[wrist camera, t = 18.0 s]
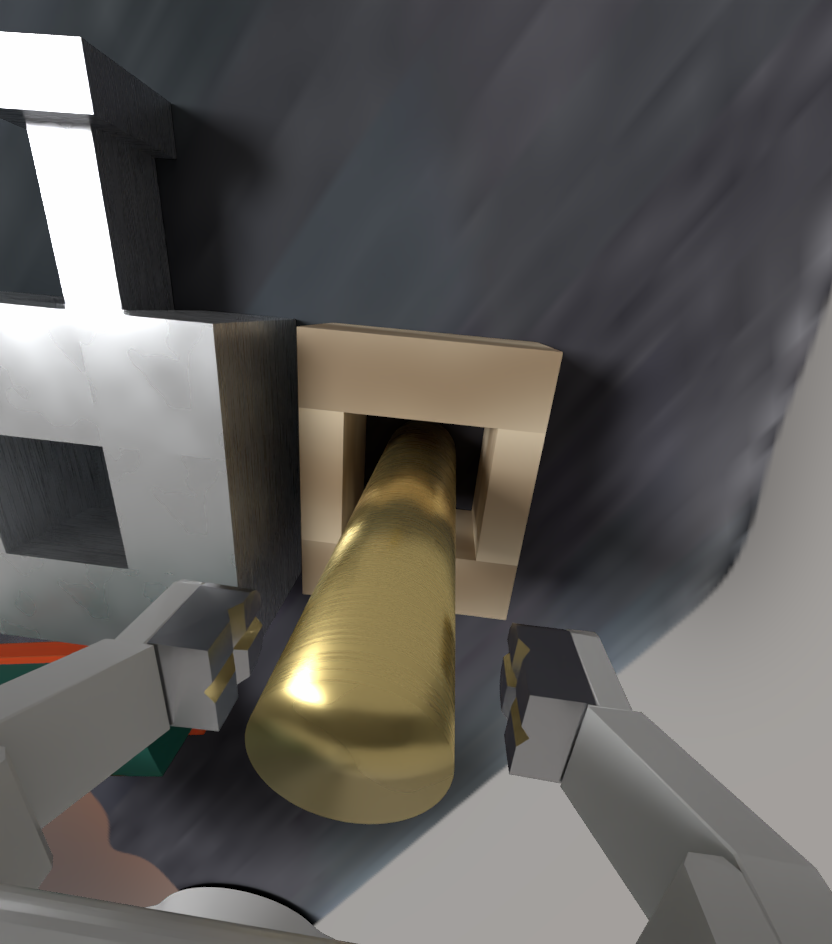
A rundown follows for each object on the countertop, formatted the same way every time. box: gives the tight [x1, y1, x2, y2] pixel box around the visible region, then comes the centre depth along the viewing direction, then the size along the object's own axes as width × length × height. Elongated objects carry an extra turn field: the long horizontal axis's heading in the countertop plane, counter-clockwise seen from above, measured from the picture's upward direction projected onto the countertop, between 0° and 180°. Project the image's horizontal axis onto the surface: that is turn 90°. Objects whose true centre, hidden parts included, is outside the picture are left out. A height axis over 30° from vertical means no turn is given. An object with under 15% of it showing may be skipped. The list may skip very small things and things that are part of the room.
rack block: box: [297, 323, 563, 620], centre depth 16 cm, size 10×8×4 cm
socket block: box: [0, 291, 302, 646], centre depth 16 cm, size 12×12×6 cm
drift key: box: [0, 32, 177, 310], centre depth 14 cm, size 10×4×4 cm, turn 175°
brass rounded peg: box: [245, 420, 456, 824], centre depth 12 cm, size 3×3×13 cm
